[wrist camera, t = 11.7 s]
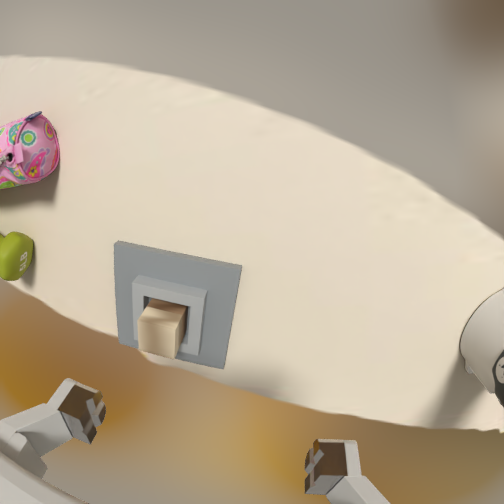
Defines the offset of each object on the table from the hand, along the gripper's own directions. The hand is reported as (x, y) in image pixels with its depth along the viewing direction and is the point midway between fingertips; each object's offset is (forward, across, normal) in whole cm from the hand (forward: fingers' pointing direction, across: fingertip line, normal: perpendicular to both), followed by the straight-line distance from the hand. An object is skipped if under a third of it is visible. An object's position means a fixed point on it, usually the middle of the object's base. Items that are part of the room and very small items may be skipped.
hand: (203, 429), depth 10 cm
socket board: (+26, +9, +14) cm, 31 cm away
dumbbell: (+26, +40, +8) cm, 49 cm away
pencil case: (+26, +37, -4) cm, 45 cm away
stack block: (+25, +9, +14) cm, 30 cm away
